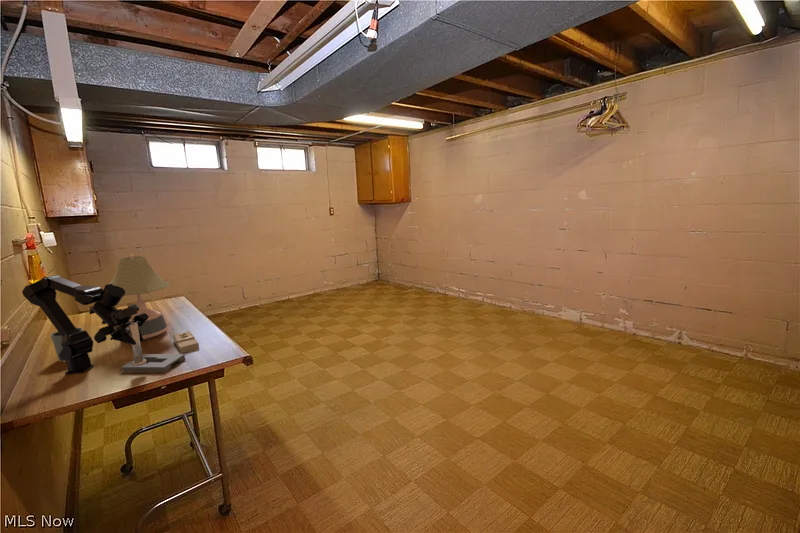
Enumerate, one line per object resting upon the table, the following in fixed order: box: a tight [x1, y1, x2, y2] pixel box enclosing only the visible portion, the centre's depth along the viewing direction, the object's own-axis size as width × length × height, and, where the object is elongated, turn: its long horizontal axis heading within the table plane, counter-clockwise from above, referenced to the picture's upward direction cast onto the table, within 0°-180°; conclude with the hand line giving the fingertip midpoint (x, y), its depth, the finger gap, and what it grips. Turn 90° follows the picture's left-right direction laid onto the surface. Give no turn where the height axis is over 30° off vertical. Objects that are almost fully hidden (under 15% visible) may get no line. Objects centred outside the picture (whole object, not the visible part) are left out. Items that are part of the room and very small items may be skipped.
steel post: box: [128, 323, 147, 366], centre depth 135 cm, size 5×5×16 cm
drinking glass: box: [50, 327, 84, 362], centre depth 154 cm, size 10×10×12 cm
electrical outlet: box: [172, 331, 200, 354], centre depth 165 cm, size 7×4×18 cm
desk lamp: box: [109, 254, 171, 341], centre depth 175 cm, size 26×28×42 cm
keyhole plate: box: [120, 353, 186, 373], centre depth 144 cm, size 18×12×2 cm, turn 86°
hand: (139, 342), depth 135 cm, fingers closed on steel post, 3 cm apart
